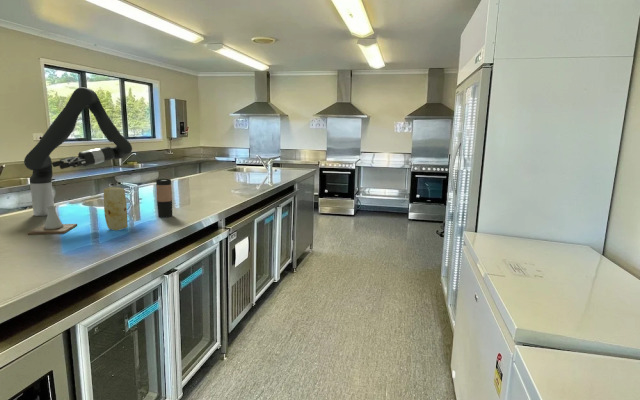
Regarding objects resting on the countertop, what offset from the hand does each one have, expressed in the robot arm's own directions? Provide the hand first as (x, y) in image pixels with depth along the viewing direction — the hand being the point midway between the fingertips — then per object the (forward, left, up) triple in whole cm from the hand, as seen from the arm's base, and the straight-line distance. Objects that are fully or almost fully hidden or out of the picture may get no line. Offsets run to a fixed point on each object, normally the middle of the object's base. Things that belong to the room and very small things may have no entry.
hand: (56, 165), depth 175 cm
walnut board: (+12, +1, -28) cm, 31 cm away
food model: (+14, +28, -29) cm, 42 cm away
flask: (+12, +1, -28) cm, 30 cm away
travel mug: (-12, +45, -29) cm, 55 cm away
